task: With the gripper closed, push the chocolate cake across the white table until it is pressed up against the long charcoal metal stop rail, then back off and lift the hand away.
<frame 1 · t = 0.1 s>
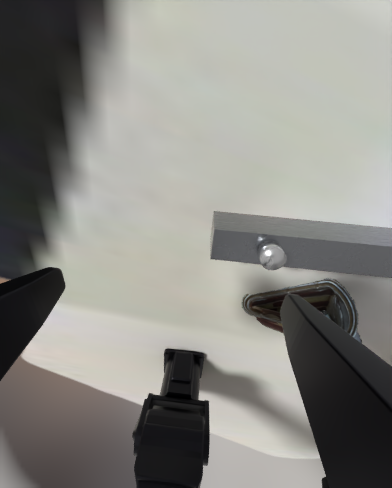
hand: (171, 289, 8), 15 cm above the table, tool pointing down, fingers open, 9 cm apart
chocolate cake: (288, 306, 27), on the table
stop rail: (330, 235, 22), on the table
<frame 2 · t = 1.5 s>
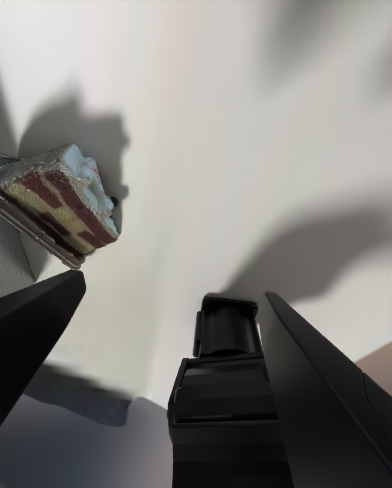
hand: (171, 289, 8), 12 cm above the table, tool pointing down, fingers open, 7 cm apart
chocolate cake: (86, 202, 20), on the table
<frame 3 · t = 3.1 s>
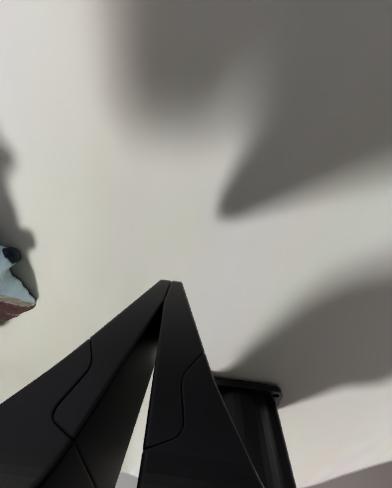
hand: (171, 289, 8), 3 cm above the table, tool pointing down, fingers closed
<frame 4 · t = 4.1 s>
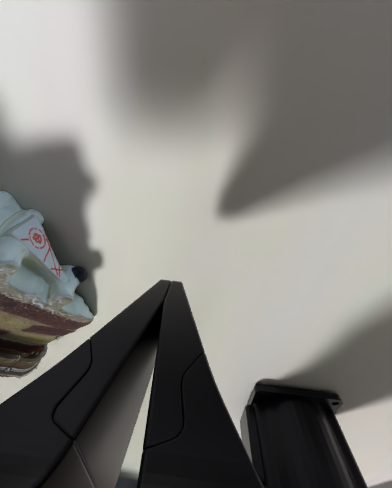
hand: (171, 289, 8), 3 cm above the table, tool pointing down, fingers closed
chocolate cake: (40, 271, 13), on the table
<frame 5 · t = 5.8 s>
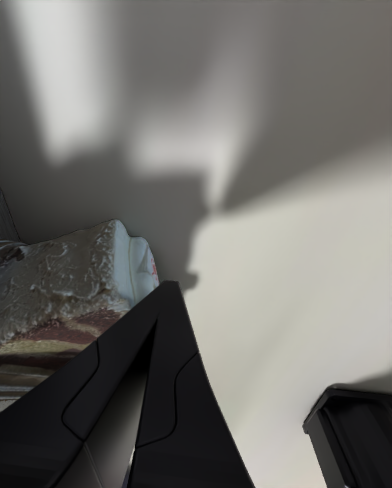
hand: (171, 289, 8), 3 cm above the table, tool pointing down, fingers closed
chocolate cake: (124, 292, 13), on the table, touching gripper, stop rail
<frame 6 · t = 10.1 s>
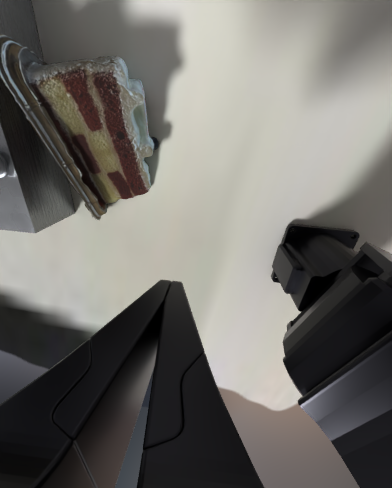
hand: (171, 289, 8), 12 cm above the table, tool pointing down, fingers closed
chocolate cake: (120, 141, 17), on the table
stop rail: (17, 34, 14), on the table
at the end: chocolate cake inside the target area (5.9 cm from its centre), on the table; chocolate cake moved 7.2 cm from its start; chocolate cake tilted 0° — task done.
